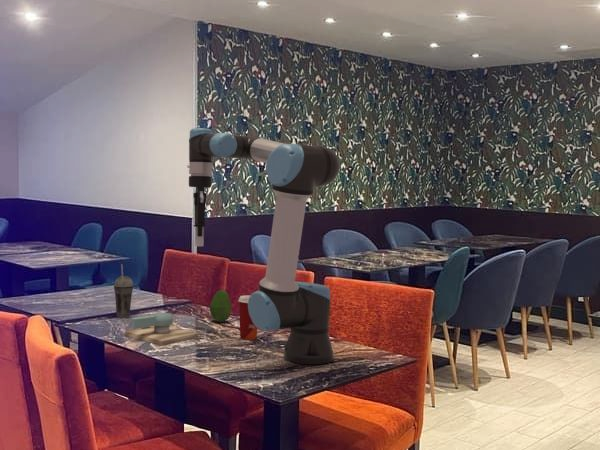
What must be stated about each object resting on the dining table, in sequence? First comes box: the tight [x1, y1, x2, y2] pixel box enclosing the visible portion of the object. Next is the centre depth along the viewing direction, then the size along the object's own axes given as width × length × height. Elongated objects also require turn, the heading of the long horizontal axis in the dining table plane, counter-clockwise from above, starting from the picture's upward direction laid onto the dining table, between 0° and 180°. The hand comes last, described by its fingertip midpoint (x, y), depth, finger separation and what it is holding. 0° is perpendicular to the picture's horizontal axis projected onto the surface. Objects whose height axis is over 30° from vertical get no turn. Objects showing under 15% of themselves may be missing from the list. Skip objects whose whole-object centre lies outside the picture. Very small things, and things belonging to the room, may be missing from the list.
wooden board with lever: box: [124, 325, 199, 346], centre depth 231 cm, size 18×16×4 cm
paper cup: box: [237, 294, 259, 341], centre depth 234 cm, size 8×8×14 cm
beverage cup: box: [113, 263, 134, 319], centre depth 258 cm, size 7×7×20 cm
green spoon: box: [130, 312, 174, 330], centre depth 228 cm, size 14×7×3 cm, turn 134°
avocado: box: [209, 289, 232, 323], centre depth 257 cm, size 8×8×12 cm
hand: (199, 246), depth 231 cm, fingers closed
